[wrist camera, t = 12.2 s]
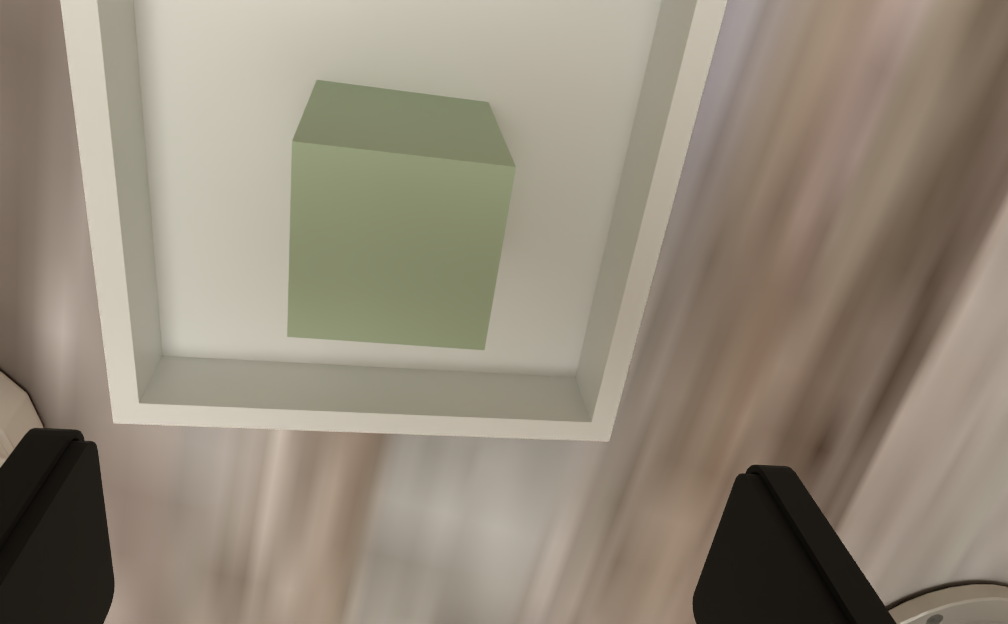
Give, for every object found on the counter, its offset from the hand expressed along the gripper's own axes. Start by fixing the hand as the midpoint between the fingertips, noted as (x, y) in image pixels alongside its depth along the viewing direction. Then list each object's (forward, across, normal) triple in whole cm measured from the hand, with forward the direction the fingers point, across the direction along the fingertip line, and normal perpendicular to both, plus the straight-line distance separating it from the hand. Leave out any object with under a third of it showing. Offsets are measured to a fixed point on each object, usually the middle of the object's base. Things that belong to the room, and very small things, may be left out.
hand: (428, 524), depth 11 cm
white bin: (+15, +1, -1) cm, 15 cm away
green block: (+14, +1, -1) cm, 14 cm away
